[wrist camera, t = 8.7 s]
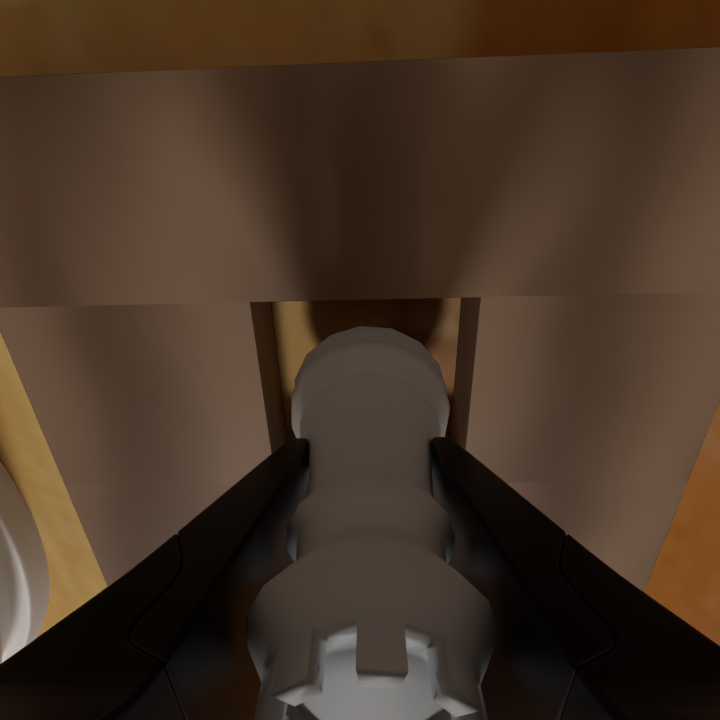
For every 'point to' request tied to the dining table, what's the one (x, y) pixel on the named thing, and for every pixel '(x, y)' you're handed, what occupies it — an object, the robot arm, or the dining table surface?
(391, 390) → the rook chess piece
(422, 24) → the dining table surface
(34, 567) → the plate stack
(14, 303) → the socket board
